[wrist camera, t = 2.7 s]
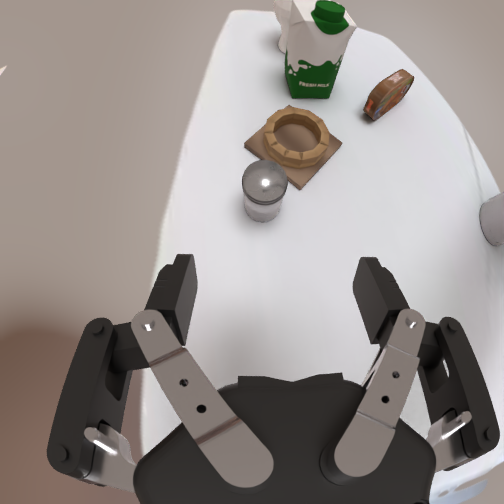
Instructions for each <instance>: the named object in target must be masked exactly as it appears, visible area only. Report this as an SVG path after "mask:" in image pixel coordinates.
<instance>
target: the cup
mask: <svg viewBox="0 0 504 504" xmlns="http://www.w3.org/2000/svg"><path fill="white" fill-rule="evenodd" d="M318 1H319V0H318ZM328 1H331V0H328ZM291 5H292V0H274V11H275V14H276V17H277V20H278V21H279V23H280V25H281V30H282V34H281V37H280V40H279V43H278V47H279V49H280V50H281V51H282V52H284V53H285V54H286V47H287V39H288V30H289V24H290V22H289V21H290V15H291Z"/></svg>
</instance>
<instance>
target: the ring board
mask: <svg viewBox="0 0 504 504" xmlns="http://www.w3.org/2000/svg"><path fill="white" fill-rule="evenodd" d="M341 145H342V142H341V141H339V140H338V139H337V138H336V137H334V136H333V135H332V134H330V133H329V131H328V129H327V127H326V125H325V123H324V122H323V120H322V119H321V118H319V117H318V116H316V115H315V114H313V113H312V112H311V111H309V110H304V109H299V108H295V107H292V106H290V105H288V106H287V107H286V108H284V109H282V110H278V111H277V112H275V113H274V114H273V115H272V116H271V117H269V118H268V119H267V123H266V124H265V125H264V126H263V127H262V128H261V129H260V130H259V131H257V132H256V133H255V134H254V135H253V136H252V137H251V138H249V139H248V140H247V141H246V142H245V143H244V146H245V148H247V149H248V150H249V151H251V152H252V153H253V154H255V155H256V156H257V157H259V158H260V159H261V160H270V161H273V162H275V163H277V164H279V165H280V166H281V167H282V168H283V169H284V171H285V173H286V175H287V180H288V181H289V182H291V183H292V184H293V185H294V186H295V187H297V188H298V189H299V190H301V189H302V187H303V186H304V185H305V184H306V183H307V182H308V181H309V180H310V179H311V178H312V177H313V176H314V174H315V173H316V172H317V171H318V170H319V169H320V168H321V167H322V166H323V165H324V164H325V163H326V162H327V160H328V159H329V158H330V157H331V156H332V155H333V154H334V153H335V152H336V151H337V150H338V149H339V148H340V146H341Z"/></svg>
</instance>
